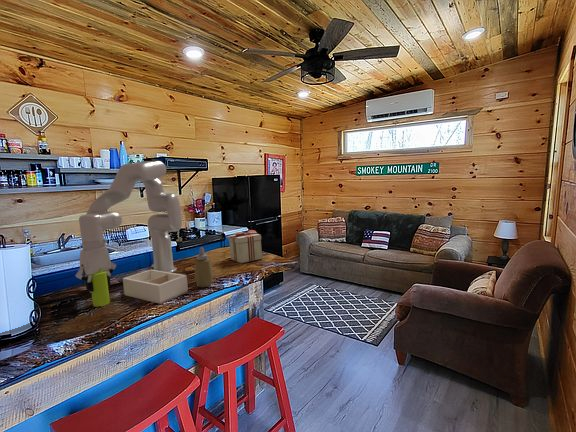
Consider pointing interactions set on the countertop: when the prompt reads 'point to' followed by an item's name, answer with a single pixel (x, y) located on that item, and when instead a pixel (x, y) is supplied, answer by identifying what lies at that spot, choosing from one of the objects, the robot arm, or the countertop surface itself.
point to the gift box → (245, 246)
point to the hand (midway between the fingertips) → (99, 288)
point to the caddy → (155, 286)
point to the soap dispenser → (100, 289)
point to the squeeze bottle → (203, 270)
